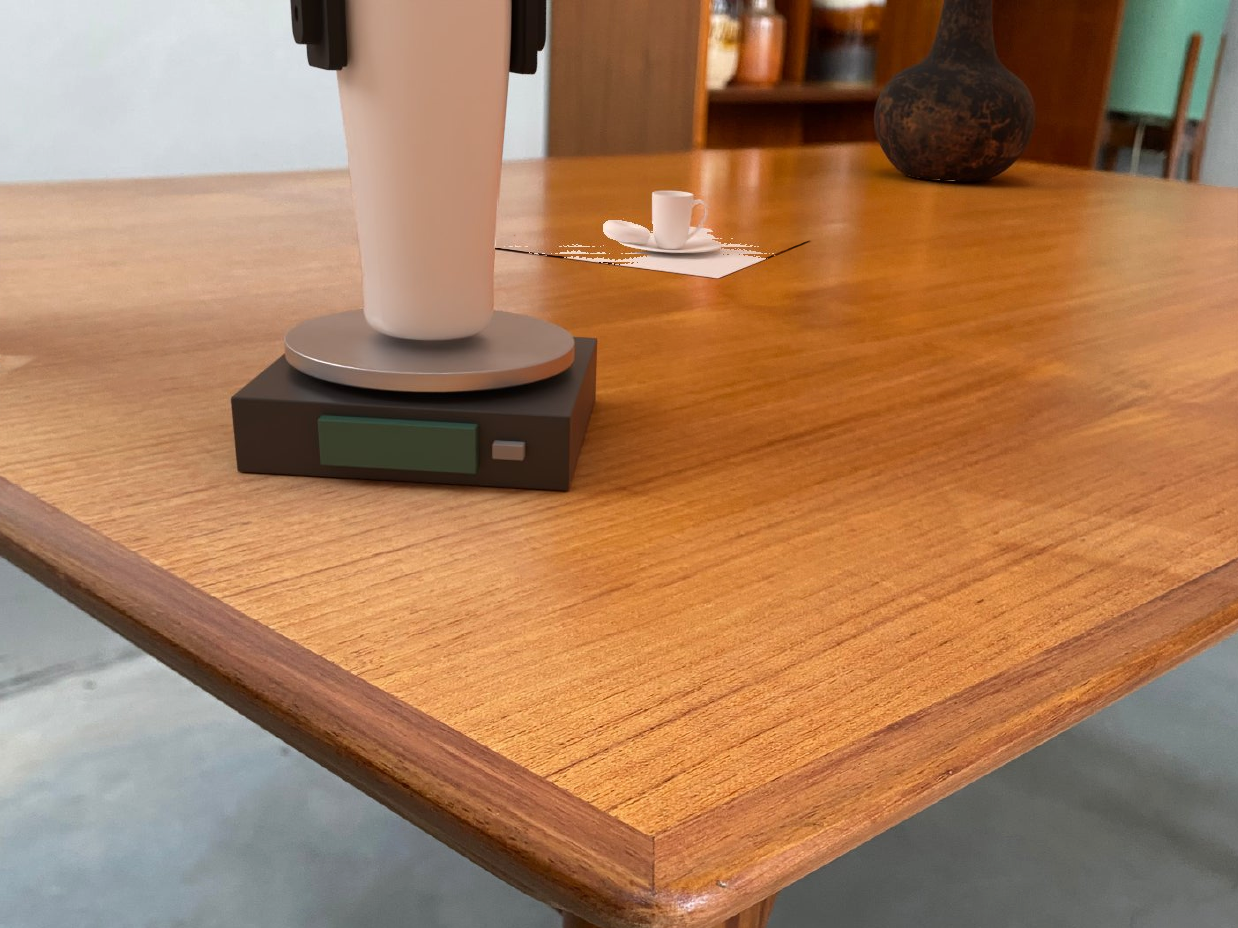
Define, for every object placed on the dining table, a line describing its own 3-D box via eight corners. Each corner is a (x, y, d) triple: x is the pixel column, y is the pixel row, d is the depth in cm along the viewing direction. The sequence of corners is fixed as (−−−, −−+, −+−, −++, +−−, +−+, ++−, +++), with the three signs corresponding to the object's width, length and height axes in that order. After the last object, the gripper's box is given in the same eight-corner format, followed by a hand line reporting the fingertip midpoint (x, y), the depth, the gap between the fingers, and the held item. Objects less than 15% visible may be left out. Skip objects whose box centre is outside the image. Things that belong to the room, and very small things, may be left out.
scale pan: (245, 383, 51) (244, 363, 50) (328, 316, 61) (327, 298, 61) (558, 401, 50) (559, 381, 50) (586, 330, 61) (586, 313, 61)
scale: (231, 477, 51) (224, 401, 50) (324, 385, 63) (321, 322, 62) (567, 497, 51) (568, 421, 49) (595, 400, 63) (597, 337, 62)
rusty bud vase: (1032, 177, 158) (1075, -90, 146) (1015, 193, 143) (1062, -103, 131) (884, 164, 164) (914, -93, 151) (853, 179, 148) (884, -107, 136)
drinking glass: (343, 348, 52) (320, -88, 45) (349, 310, 58) (330, -79, 51) (516, 349, 53) (518, -77, 46) (504, 312, 59) (505, -70, 52)
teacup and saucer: (590, 249, 100) (591, 192, 98) (635, 235, 106) (637, 182, 105) (696, 262, 97) (700, 204, 95) (736, 248, 103) (740, 193, 101)
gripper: (599, -445, 50) (586, 68, 58) (112, -546, 42) (172, 59, 50) (696, -500, 44) (667, 81, 52) (149, -628, 37) (211, 72, 44)
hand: (423, 66), depth 51 cm, fingers closed on drinking glass, 6 cm apart
